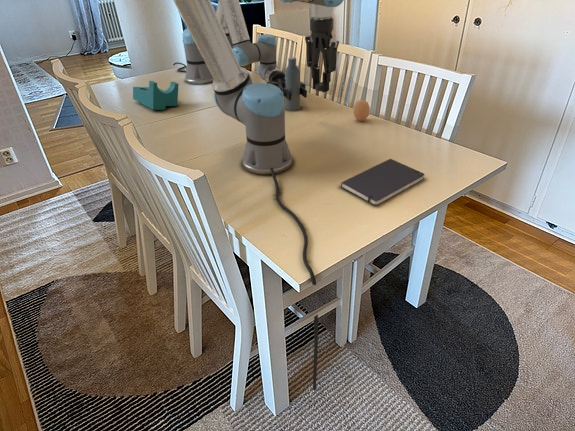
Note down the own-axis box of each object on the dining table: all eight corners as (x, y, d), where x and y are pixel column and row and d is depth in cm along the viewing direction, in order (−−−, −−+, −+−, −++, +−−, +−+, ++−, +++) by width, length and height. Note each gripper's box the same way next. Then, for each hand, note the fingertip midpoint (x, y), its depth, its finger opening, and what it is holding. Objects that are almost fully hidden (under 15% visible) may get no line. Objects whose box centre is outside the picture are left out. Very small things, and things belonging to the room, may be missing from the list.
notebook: (389, 163, 124) (340, 187, 113) (390, 158, 123) (341, 182, 112) (424, 178, 116) (375, 206, 105) (425, 174, 115) (376, 201, 104)
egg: (358, 124, 148) (359, 103, 143) (349, 119, 153) (351, 98, 148) (372, 121, 150) (374, 100, 145) (363, 116, 154) (364, 95, 150)
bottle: (288, 104, 167) (287, 55, 155) (302, 106, 165) (302, 56, 154) (283, 109, 162) (282, 59, 151) (297, 111, 161) (297, 60, 149)
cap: (321, 92, 141) (321, 86, 140) (312, 89, 143) (312, 84, 142) (329, 89, 143) (329, 83, 142) (320, 86, 145) (320, 81, 144)
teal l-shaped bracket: (177, 109, 169) (178, 83, 164) (152, 109, 162) (153, 82, 157) (156, 99, 180) (157, 74, 175) (133, 98, 172) (133, 73, 168)
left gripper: (296, 84, 178) (319, 101, 161) (256, 90, 173) (275, 108, 155) (296, 67, 174) (320, 82, 156) (254, 73, 168) (274, 89, 151)
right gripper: (350, 18, 126) (346, 92, 140) (311, 12, 136) (311, 82, 150) (333, 22, 122) (331, 98, 136) (294, 16, 132) (296, 87, 146)
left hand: (298, 95), depth 156 cm, fingers closed on bottle, 6 cm apart
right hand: (320, 89), depth 143 cm, fingers closed on cap, 4 cm apart
